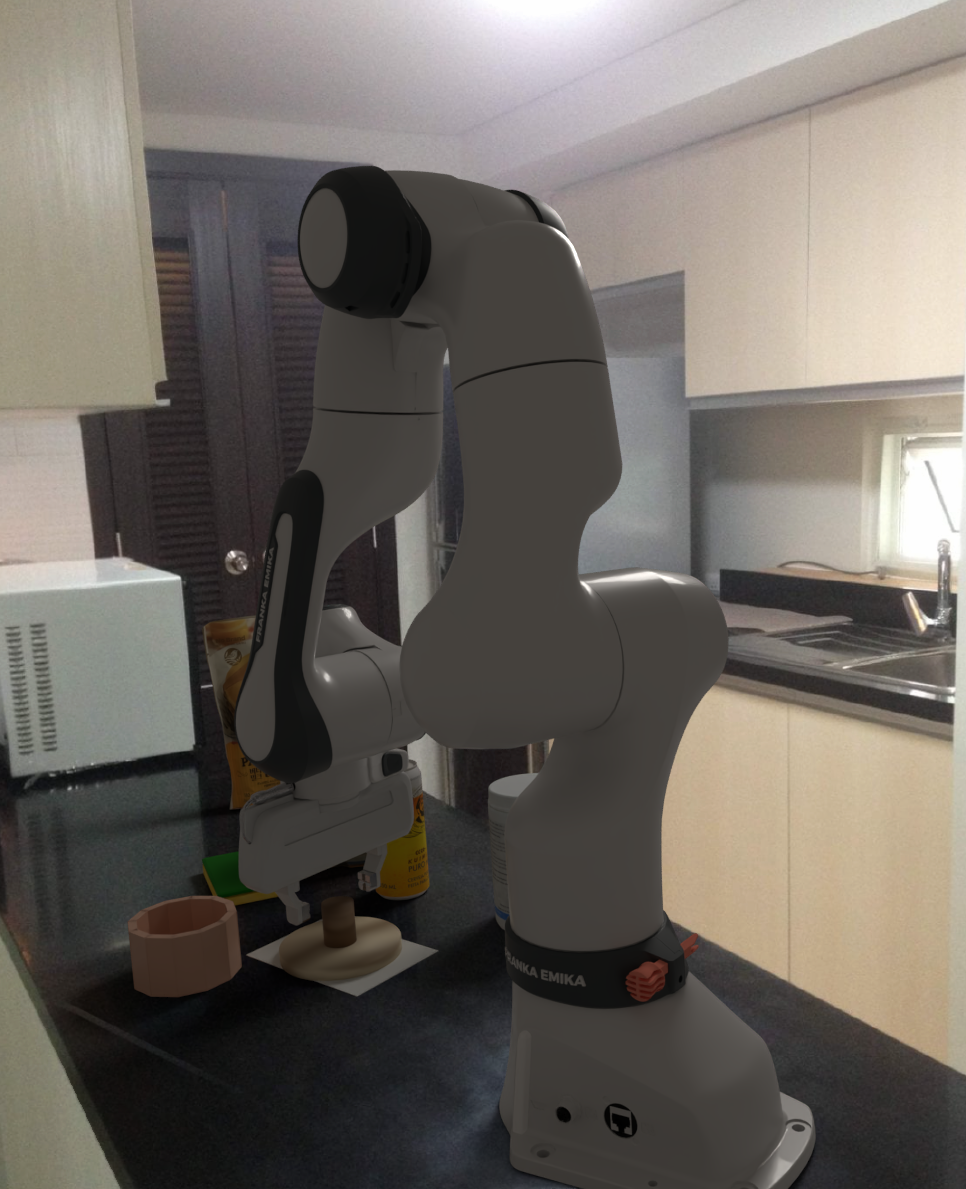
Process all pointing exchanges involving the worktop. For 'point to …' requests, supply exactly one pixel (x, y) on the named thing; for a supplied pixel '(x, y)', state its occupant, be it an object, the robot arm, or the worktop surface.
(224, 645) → the pancake mix bag
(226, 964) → the bowl
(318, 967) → the lid
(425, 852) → the beer can
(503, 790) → the supplement tub
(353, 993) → the mat
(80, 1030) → the worktop surface
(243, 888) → the dish sponge
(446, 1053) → the worktop surface
